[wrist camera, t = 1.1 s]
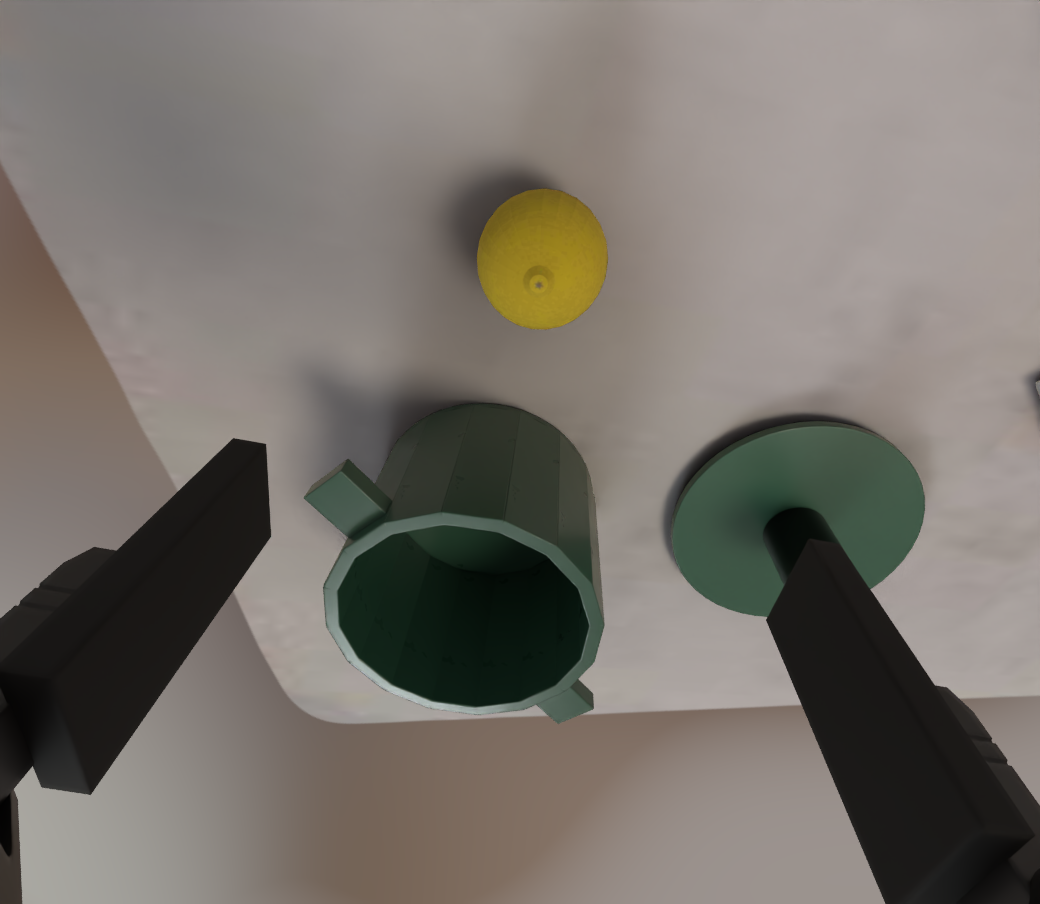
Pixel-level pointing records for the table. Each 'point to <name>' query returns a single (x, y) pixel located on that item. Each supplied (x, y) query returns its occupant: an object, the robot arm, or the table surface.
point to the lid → (794, 510)
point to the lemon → (542, 259)
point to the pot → (469, 565)
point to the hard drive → (1038, 387)
